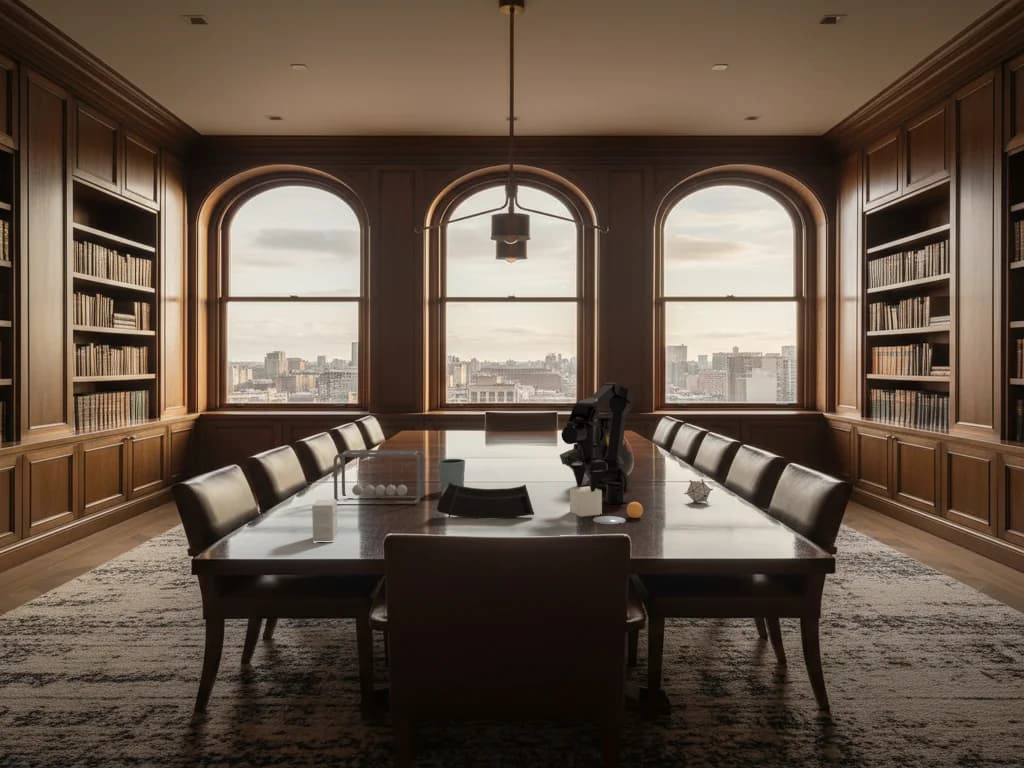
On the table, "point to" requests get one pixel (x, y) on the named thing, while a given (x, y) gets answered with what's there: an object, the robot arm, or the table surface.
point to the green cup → (451, 472)
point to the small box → (324, 520)
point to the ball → (634, 509)
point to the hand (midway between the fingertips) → (585, 489)
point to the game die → (698, 491)
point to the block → (585, 501)
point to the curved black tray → (485, 502)
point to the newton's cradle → (380, 488)
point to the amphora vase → (602, 446)
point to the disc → (609, 520)
